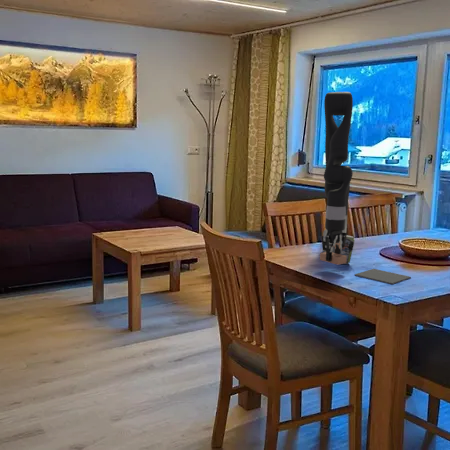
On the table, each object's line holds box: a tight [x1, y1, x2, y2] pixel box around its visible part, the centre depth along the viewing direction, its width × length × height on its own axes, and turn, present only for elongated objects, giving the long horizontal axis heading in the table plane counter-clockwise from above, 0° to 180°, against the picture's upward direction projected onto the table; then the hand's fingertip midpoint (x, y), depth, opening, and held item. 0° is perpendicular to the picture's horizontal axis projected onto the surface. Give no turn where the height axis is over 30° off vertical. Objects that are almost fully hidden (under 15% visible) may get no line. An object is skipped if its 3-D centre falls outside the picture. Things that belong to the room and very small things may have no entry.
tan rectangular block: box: [319, 251, 347, 266], centre depth 224 cm, size 9×5×3 cm, turn 41°
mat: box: [354, 268, 412, 285], centre depth 219 cm, size 16×14×1 cm
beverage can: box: [340, 234, 355, 265], centre depth 239 cm, size 6×7×12 cm
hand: (332, 259), depth 224 cm, fingers closed on tan rectangular block, 5 cm apart
